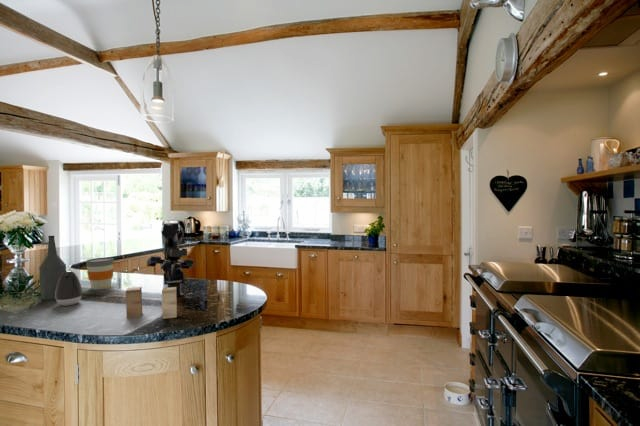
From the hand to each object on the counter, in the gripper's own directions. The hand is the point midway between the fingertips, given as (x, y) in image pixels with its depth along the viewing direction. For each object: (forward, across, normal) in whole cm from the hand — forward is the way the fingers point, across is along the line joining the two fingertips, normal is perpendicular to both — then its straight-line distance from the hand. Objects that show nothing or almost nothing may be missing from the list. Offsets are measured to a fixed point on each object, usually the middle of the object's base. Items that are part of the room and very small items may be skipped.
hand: (170, 281), depth 154 cm
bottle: (-10, -34, +58) cm, 68 cm away
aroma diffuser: (-2, -30, +41) cm, 51 cm away
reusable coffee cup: (-17, -14, +62) cm, 65 cm away
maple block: (+16, -2, -3) cm, 16 cm away
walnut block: (+13, -12, +7) cm, 19 cm away
